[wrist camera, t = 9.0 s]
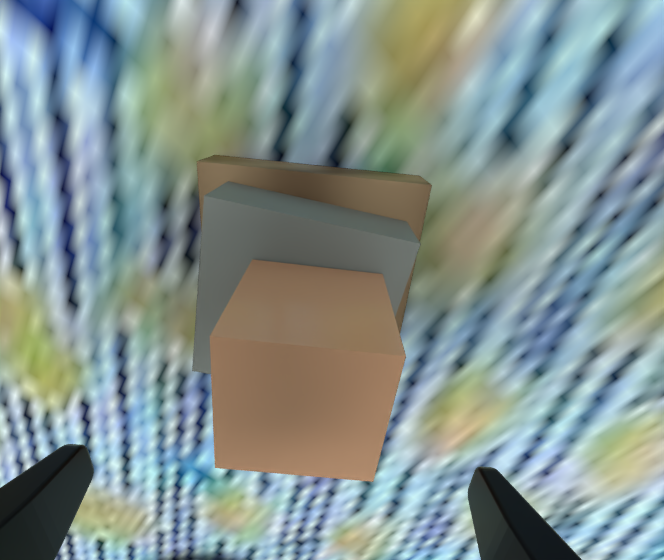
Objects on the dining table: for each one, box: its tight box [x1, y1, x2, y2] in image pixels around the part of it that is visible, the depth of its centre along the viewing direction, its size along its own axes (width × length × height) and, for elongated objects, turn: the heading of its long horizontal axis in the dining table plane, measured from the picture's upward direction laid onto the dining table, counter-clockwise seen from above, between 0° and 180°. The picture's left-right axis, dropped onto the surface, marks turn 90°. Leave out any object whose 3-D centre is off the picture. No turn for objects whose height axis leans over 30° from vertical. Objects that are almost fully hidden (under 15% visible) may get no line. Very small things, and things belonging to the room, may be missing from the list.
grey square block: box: [192, 181, 420, 374], centre depth 16 cm, size 8×8×3 cm
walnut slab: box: [197, 155, 432, 334], centre depth 18 cm, size 10×10×3 cm
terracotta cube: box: [210, 259, 406, 482], centre depth 12 cm, size 5×5×5 cm
